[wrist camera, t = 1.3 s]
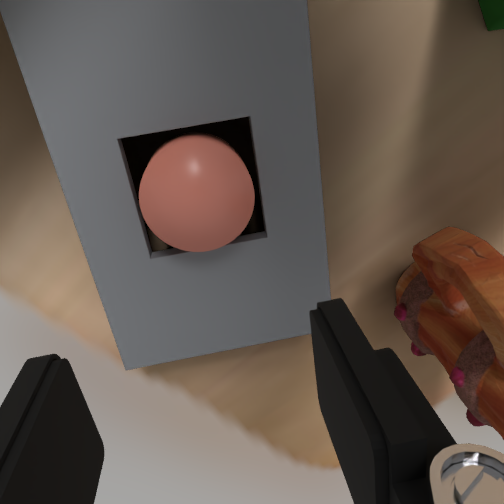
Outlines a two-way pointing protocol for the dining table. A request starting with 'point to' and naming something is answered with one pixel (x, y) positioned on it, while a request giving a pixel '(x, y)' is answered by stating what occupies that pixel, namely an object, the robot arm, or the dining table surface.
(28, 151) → the dining table surface
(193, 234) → the call button
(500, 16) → the milk carton
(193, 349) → the box
